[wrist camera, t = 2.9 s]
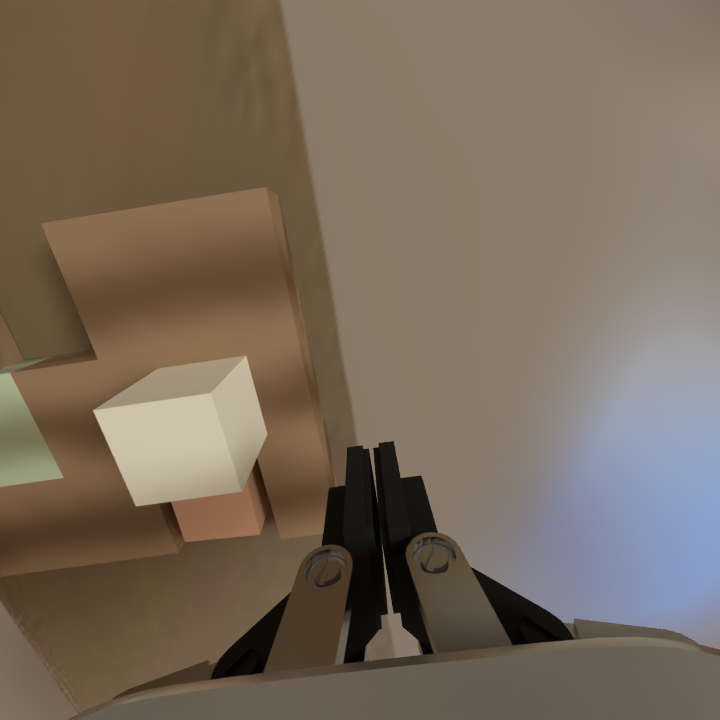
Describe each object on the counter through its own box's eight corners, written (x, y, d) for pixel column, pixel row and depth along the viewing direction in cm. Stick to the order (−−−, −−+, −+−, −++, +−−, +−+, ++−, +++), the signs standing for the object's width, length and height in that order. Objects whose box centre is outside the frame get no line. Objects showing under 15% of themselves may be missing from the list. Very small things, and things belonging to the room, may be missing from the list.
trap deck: (-153, 264, 20) (-313, 271, 15) (278, 195, 19) (254, 179, 14) (18, 543, 26) (-55, 609, 22) (340, 499, 26) (338, 557, 21)
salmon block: (188, 447, 24) (163, 479, 21) (258, 439, 24) (244, 471, 21) (206, 503, 26) (184, 542, 23) (271, 497, 26) (260, 534, 23)
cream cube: (157, 368, 19) (92, 410, 14) (246, 355, 19) (210, 393, 14) (185, 445, 21) (135, 506, 16) (267, 434, 20) (242, 491, 16)
